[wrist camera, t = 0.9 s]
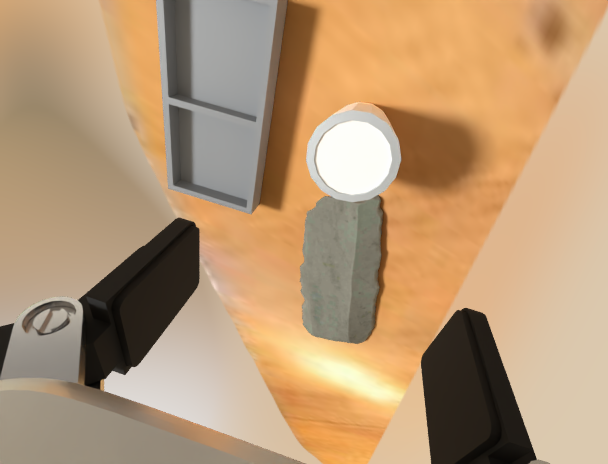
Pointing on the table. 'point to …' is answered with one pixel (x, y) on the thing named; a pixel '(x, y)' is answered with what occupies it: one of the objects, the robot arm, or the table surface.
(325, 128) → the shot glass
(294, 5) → the table surface
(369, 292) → the stone slab
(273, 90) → the tray
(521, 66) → the table surface
